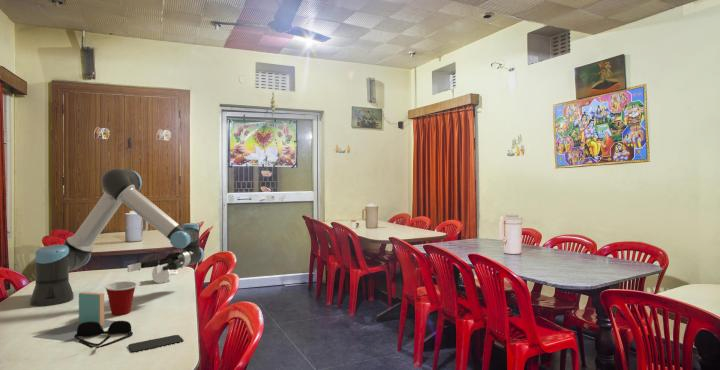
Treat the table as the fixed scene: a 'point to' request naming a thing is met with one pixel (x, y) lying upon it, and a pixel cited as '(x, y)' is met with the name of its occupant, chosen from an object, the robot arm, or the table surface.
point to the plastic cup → (120, 297)
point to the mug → (162, 275)
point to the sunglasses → (102, 331)
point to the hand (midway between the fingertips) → (142, 269)
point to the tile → (91, 307)
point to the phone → (155, 343)
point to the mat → (67, 332)
